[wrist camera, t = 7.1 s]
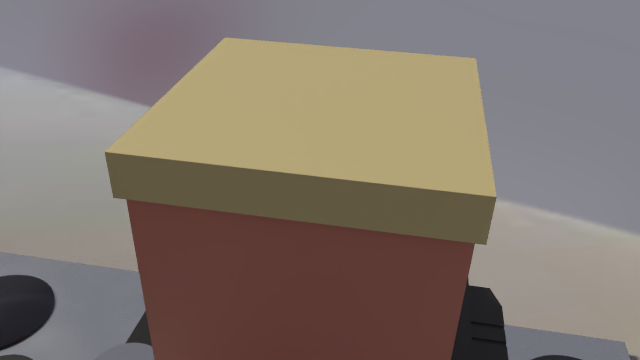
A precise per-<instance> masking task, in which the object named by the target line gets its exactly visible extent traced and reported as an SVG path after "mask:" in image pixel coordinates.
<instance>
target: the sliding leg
mask: <svg viewBox="0 0 640 360" xmlns="http://www.w3.org/2000/svg"><path fill="white" fill-rule="evenodd" d="M105 156H106V161H107V166H108V172H109V177H110V182H111V187H112V193H113V198H120V199H126V200H127V205H128V211H129V217H130V223H131V228H132V234H133V240H134V246H135V251H136V257H137V263H138V269H139V274H140V280H141V286H142V292H143V297H144V303H145V309H146V315H147V320H148V326H149V332H150V338H151V343H152V349H153V355H154V360H451V356H452V352H453V347H454V342H455V337H456V332H457V327H458V322H459V318H460V313H461V308H462V303H463V298H464V293H465V288H466V284H467V279H468V274H469V269H470V264H471V259H472V254H473V250H474V245H475V243H476V244H484V245H486V243H487V238H488V234H489V229H490V224H491V220H492V215H493V211H494V206H495V202H496V190H495V183H494V177H493V170H492V163H491V157H490V150H489V143H488V137H487V130H486V123H485V117H484V111H483V104H482V97H481V90H480V84H479V77H478V70H477V63H476V59H475V58H463V57H450V56H439V55H427V54H415V53H403V52H391V51H379V50H367V49H355V48H343V47H331V46H318V45H307V44H295V43H283V42H271V41H259V40H247V39H235V38H224V39H223V40H222V41H221V42H220V43H219V44H218V45H217V46H216V47H215V48H214V49H213V50H212V51H211V52H209V53H208V54H207V55H206V56H205V57H204V58H203V59H202V60H201V61H200V62H199V63H198V64H197V65H196V66H195V67H194V68H193V69H192V70H190V72H188V73H187V74H186V75H185V76H184V77H183V78H182V79H181V80H180V81H179V82H178V83H177V84H176V85H175V86H174V87H173V88H172V89H171V90H169V91H168V92H167V93H166V94H165V95H164V96H163V97H162V98H161V99H160V100H159V101H158V102H157V103H156V104H155V105H154V106H153V107H152V108H150V109H149V110H148V111H147V112H146V113H145V114H144V115H143V116H142V117H141V118H140V119H139V120H138V121H137V122H136V123H135V124H134V125H133V126H132V127H131V128H129V129H128V130H127V131H126V132H125V133H124V134H123V135H122V136H121V137H120V138H119V139H118V140H117V141H116V142H115V143H114V144H113V145H112V146H111V147H109V148H108V149H107V150H106V151H105Z"/></svg>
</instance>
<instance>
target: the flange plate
mask: <svg viewBox="0 0 640 360" xmlns="http://www.w3.org/2000/svg"><path fill="white" fill-rule="evenodd" d="M145 311H146V309H145V303H144V297H143V292H142V286H141V280H140V274H139V272H135V271H128V270H121V269H114V268H107V267H100V266H93V265H86V264H79V263H72V262H66V261H59V260H52V259H45V258H38V257H31V256H24V255H17V254H10V253H3V252H0V356H3V355H12V354H16V355H24V356H27V357H29V358H31V359H33V360H95V358H97V357H98V356H99V355H100V354H101V353H103V352H105V351H106V350H108V349H110V348H112V347H115V346H117V345H121V344H125V343H126V342H127V340H128V338H129V337H130V335H131V333H132V332H133V330H134V329H135V327H136V325H137V324H138V322H139V320H140V319H141V317H142V316H143V314H144V312H145ZM504 330H505V335H506V346H507V351H508V359H509V360H631V359H630V356H629V354H628V351H627V348H626V345H625V343H624V342H620V341H613V340H606V339H599V338H592V337H585V336H578V335H572V334H565V333H558V332H551V331H544V330H537V329H530V328H523V327H516V326H509V325H504Z"/></svg>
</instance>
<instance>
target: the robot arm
mask: <svg viewBox="0 0 640 360" xmlns="http://www.w3.org/2000/svg"><path fill="white" fill-rule="evenodd" d="M0 360H33V359H31V358H29V357H27V356H24V355H16V354H12V355H3V356H0ZM95 360H154V355H153V349H152V343H151V338H150V332H149V326H148V320H147V315H146V311H145V312H144V314H143V316H142V317H141V319H140V320H139V322H138V324H137V325H136V327H135V329H134V330H133V332H132V333H131V335H130V337H129V338H128V340H127V342H126V343H125V344H121V345H117V346H115V347H112V348H110V349H108V350H106V351H105V352H103V353H101V354H100V355H99V356H98V357H97V358H95ZM451 360H509V359H508V351H507V346H506V335H505V330H504V320H503V312H502V306H501V305H500V303H499V302H498V300H497V299H496V297H495V296H494V294H493V293H492V291H491V290H490V288H484V287H476V286H469V284H468V279H467V284H466V288H465V293H464V298H463V303H462V308H461V313H460V318H459V322H458V327H457V332H456V337H455V342H454V347H453V352H452V356H451Z"/></svg>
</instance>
